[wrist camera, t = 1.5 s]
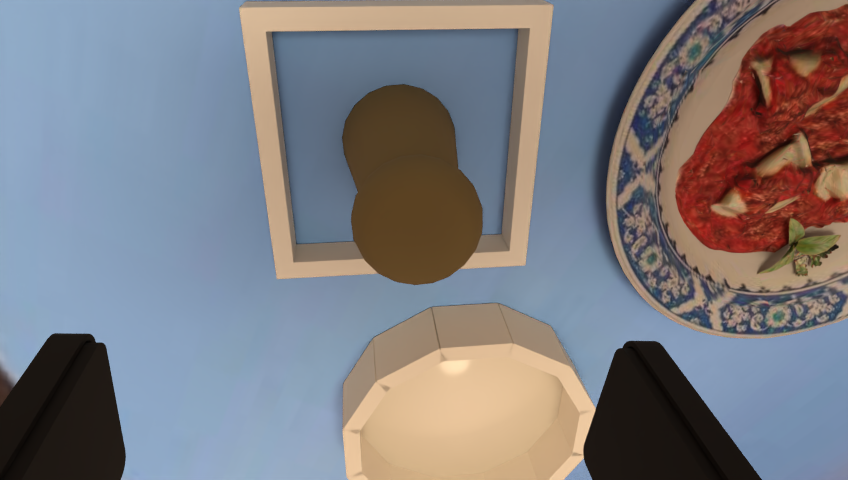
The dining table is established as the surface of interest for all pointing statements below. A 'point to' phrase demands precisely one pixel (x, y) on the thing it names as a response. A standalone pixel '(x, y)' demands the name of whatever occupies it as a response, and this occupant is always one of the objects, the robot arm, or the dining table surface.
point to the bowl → (465, 400)
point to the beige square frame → (396, 10)
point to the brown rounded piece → (409, 187)
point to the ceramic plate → (738, 169)
